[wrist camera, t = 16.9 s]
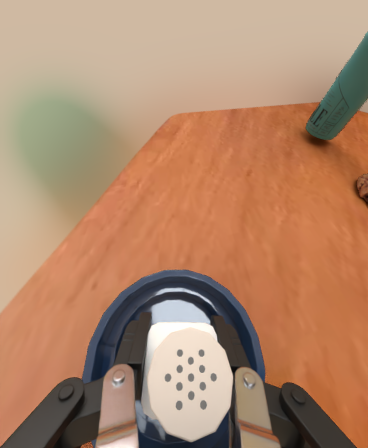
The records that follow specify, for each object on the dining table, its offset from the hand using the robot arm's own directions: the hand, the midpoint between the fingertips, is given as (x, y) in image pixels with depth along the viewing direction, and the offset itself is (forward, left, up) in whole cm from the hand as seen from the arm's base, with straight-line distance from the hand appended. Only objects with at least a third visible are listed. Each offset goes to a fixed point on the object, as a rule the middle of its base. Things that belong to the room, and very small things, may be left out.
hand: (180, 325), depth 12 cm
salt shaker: (+2, +1, -4) cm, 5 cm away
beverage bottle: (-46, +4, -7) cm, 47 cm away
